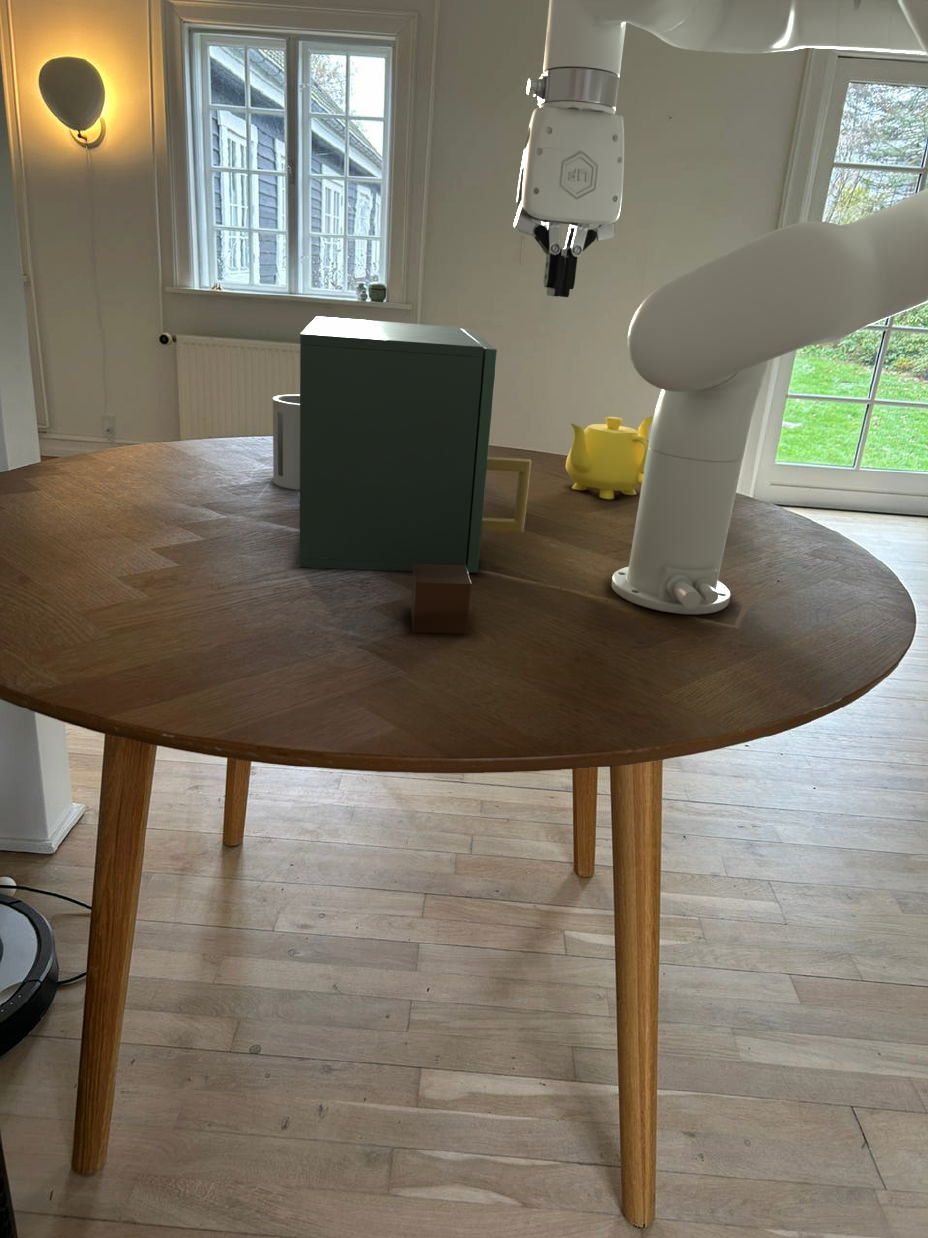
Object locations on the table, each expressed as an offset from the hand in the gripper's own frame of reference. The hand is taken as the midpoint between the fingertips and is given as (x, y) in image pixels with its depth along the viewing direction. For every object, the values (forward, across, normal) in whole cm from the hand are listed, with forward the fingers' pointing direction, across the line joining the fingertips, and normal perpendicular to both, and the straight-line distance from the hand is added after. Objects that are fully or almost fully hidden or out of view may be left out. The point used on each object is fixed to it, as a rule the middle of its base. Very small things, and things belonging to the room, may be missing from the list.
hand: (557, 295), depth 91 cm
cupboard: (+29, -17, +6) cm, 34 cm away
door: (+29, -5, +5) cm, 30 cm away
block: (+29, -14, -21) cm, 39 cm away
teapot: (+29, +21, +32) cm, 48 cm away
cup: (+29, -26, +31) cm, 50 cm away
